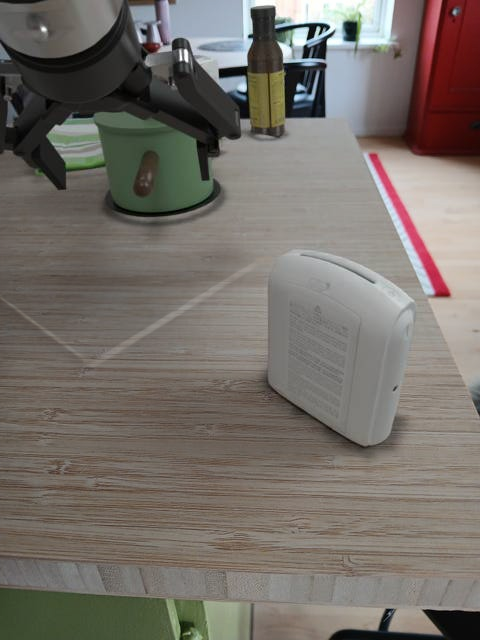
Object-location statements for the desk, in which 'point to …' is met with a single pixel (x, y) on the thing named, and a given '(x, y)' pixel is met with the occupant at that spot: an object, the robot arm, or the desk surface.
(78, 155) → the dish towel
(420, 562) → the desk surface
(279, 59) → the sauce bottle
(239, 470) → the desk surface
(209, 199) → the trivet
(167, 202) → the pot
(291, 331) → the photo printer
